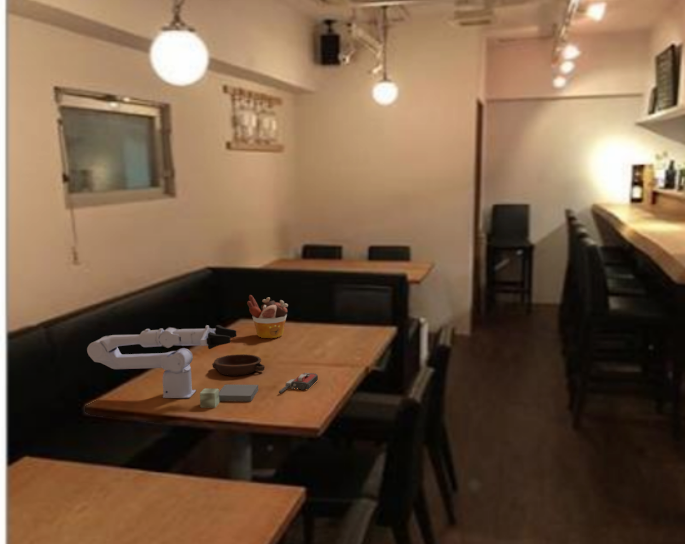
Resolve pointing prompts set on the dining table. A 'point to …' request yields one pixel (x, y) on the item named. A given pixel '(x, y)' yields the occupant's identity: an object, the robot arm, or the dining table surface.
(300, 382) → the walkie-talkie
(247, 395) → the stand
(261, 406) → the dining table surface
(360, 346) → the dining table surface
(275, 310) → the bucket of meat
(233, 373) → the dish
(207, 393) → the cube
